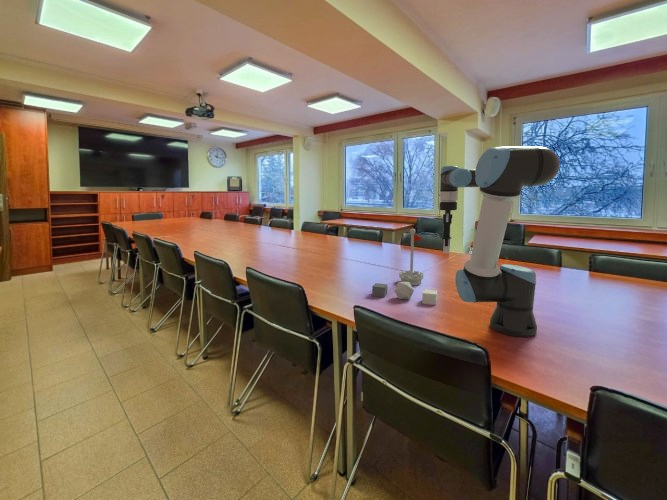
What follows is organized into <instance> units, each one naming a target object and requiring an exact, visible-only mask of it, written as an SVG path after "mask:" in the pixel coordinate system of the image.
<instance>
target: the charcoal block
mask: <svg viewBox="0 0 667 500" xmlns="http://www.w3.org/2000/svg"><path fill="white" fill-rule="evenodd" d="M371 287H372V290H371V291H372V292H371V293H372V297H377V298H385V297H386V296H387V295H388V284H387V283H377V282H376V283H374V284H373V285H372V286H371Z"/></svg>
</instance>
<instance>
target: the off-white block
mask: <svg viewBox="0 0 667 500" xmlns="http://www.w3.org/2000/svg"><path fill="white" fill-rule="evenodd" d="M438 294H439V293H438V290H434V289H426V288H425V289H423V291H422V297H421V298H422V299H421V303H422V305H423V304H424V305H425V304H426V305H433V306H436V305H437V302H438Z"/></svg>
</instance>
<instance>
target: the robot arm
mask: <svg viewBox="0 0 667 500" xmlns="http://www.w3.org/2000/svg"><path fill="white" fill-rule="evenodd" d="M560 168H561V163H560V158H559V156H558V155H557V153H555V151H553V150H552V149H550V148H547V147H545V146H539V145H538V146H537V145H536V146H535V145H534V146H515V145H514V146H511V145H510V146H505V145H502V146H494V147H493V146H492V147H490V148H487V149H486V150H485V151H483V153H482V154H481V156H480V157H479V158H478V161H477V164H476V167H475V168H464V167H459V166H457V165H446V166H442V167H441V169H440V181H439V183H440V187H439V188H440V189H439V190H440V192H439V194H438V196H439V208H438V209H439V210H440V211H444V214H442V217H443V218H442V219H443V223H442V224H443V237H441V239H442V240H443V243H442V244H443V246H442V247H443V248H442V250H443V251H442V254H450V245H451V244H450V243H451V239H452V237H451V224H452V220H453V214H452V213H451V212H452V211H457V210H458V202H457V201H458V195H459V190H458V189H459V188H479V192H480V193H481V194H482V195H483V197H482V201H481V202H482V203H481V206H480V211H479V215H478V220H477V225H476V229H475V230H476V231H475V236H474V240H473V243H472V244H473V245H472V249H471V254H470V259H468V260H467V261H465V262H464V265H463V269H462V268H461V269H458V270H457V271H456V272H455V278H454V279H455V287H456V291H457V293H458V296H459V298H460V299H461V300H462V301H463V302H465V303H474V304H475V303H496V305H495V306H496V307H495V308H494V310H493V312H492V315H491V317H490V318H489V327H490V328H491V329H492V330H494V331H496V332H498V333H500V334H503V335H507V336H510V337H511V336H512V337H520V338H527V337H529V338H530V337H533V336H535V335H536V334H537V331H538V325H537V322H536V317H535V314H534V304H535V303H534V301H535V294H536V285H537V274H536V272H535V271H534V270H533V269H531V268H528V267H525V266H524V267H523V266H520V265H515V264H505V263H504V264H500V265H498V263H499V260H500V259H499V257H500V254H501V249H502V246H503V241H504V238H505V233H506V230H507V226H508V221H509V218H510V215H511V210H512V205H513V203H514V202H513V201H514V199H516V198H518V197H520V196H521V193H522V190H523V187H524V188H525V187H538V186H542V185H546V184H547V183H549V182H551V181H552V180H554V178H555V177H556V176H557V175H558V174H559V171H560Z"/></svg>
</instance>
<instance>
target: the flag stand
mask: <svg viewBox="0 0 667 500" xmlns="http://www.w3.org/2000/svg"><path fill="white" fill-rule="evenodd" d="M409 233H410V234H411V235H410V256H409V257H410V263H409V270H408V269H407V270H405V272H404V271H402V270H401V271H399V274H398V275H399V277H398V278H400V282H409V283H410V284H411V286H419V285H421V284H422V280H423V279H424V278H425V277H424V272H423V271H422V272H419V271H418V270H414V251H415V250H414V249H415V248H414V247H415V246H414V244H415V243H416V242H418V241H419V240H422V239H423V237H421V236H419V235H417V234H416V229H415V228H411V229H410V230H409Z"/></svg>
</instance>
